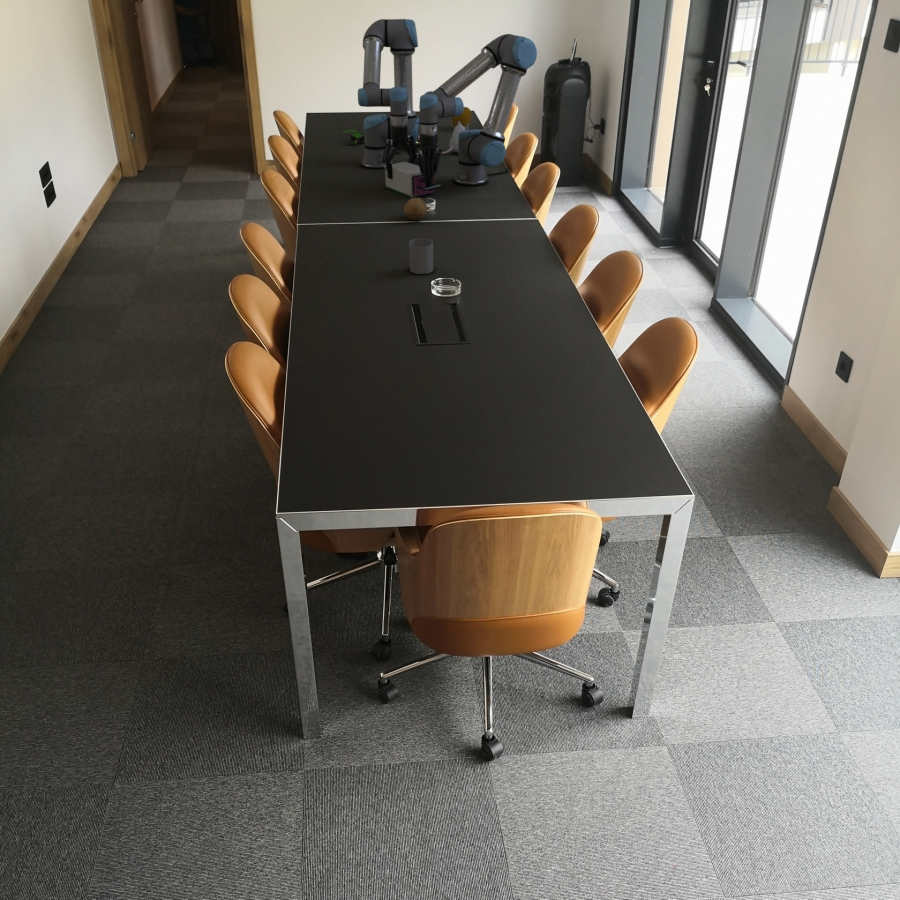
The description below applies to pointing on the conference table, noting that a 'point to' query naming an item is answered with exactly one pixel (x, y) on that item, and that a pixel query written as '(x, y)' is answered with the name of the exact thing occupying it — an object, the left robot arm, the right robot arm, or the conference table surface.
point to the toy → (455, 138)
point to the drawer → (422, 186)
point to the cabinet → (402, 178)
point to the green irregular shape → (354, 137)
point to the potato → (415, 209)
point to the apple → (463, 118)
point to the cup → (421, 256)
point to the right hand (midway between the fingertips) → (428, 189)
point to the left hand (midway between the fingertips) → (400, 175)
